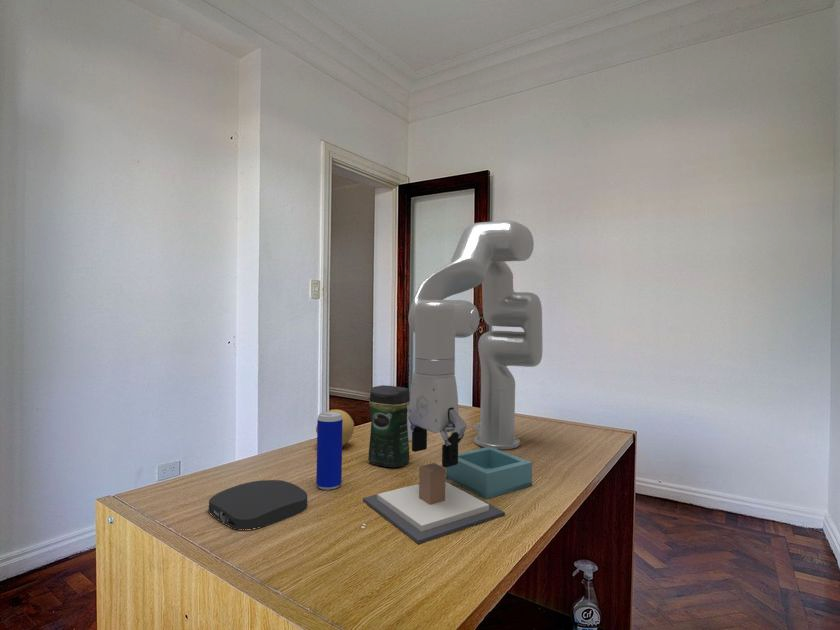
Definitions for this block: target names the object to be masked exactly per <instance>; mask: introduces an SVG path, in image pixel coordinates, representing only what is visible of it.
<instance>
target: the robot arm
mask: <svg viewBox="0 0 840 630" xmlns="http://www.w3.org/2000/svg"><path fill="white" fill-rule="evenodd" d="M534 243H535V242H534V236H533V234H532V232H531V230H530V229H529V227H527V226H525V225H524V224H522V223H520V222H517V221H514V220H498V221H497V220H496V221H483V222H482V221H481V222H474V223H471V224H469V225H468V226H467V227H465V229H464V230H463V232H462V233H461V235H460V238H459V241H458V242H457V245H456V248H455V250H454V252H453V255H452V258H451V259H450V262H449V263H448V264H446V265H444V266H442V267H441V268H440V269H437V270H436V271H435V272H433V273H432V274H431V275H430V276H428V277H427V278H426V279H424V280H423V282H422V283H420V285H419V287H418V288H417V291H416V293H415V295H414V297H413V299H412V302H411V303H410V304H411V305H410V307H409V310H408V316H407V317H408V320H407V321H408V325H409V326H408V327H409V328H410V330H411V331H412V332H413V333H414V372H413V373H412V378H411V383H410V391H409V396H410V404H408V405H407V410H408V414H409V421H410V423H411V426H410V428H411V430H412V441H411V451H412V452H414V453H417V452H420V451H425V450H427V448H428V432H431V433H434V434H439V433H440V435H441V438H442V441H443V443H444V444H442V445H441V447H442V448H441V459H442V460H441V465H442V467H444V468H446V467H450V466H454V465H457V464H458V453H459V444H461V441H462V439H463V438H464V437H465V435H464V434H465V432H466V430H467V422H466V421H465V420H464V419H463V418H462V417H461V415H459V396H458V395H459V394H458V387H457V386H458V385H457V380H456V375H455V374H456V369H455V368H456V367H455V366H456V365H455V364H456V355H455V354H456V345H455V344H456V339H457V338H458V339H459V338H460V339H462V338H469V337H471V336H472V335H474V334H475V333H476V331H477V329H478V328H479V324H480V314H479V311H478V309H477V306H476V305H475V304H474V303H472V302H470V301H468V300H461V299H447V298H449V297H451V296H455V295H458V294H460V293H461V294H462V293H464V292H466V291H469V290H471V289H474V288H476V287H478V286H479V285H481V291H482V292H481V295H482V297H481V298H482V315H483V320H484V322H485V323H486V325H488V326H491V327H502V328H503V327H504V328H505V327H506V328H522V331H513V330H489V331H487V332H484V333H482V334H481V336H479V339H478V343H477V344H478V346H477V347H478V355H479V356H478V357H479V362H480V416H479V417H480V419H479V421H478V422H476V424H473V426H472V429H473V430H474V431H477V434H476V435H475V436H474V443H475V445H478V446H479V447H481V448H485V447H492V448H495V449H498V450H512V449H515V448H518V447H519V446H520V445H521V442H520V439H519V438H518V437H516V436H515V423H516V422H515V419H516V416H515V415H516V414H515V412H516V380H515V377H514V376H513V373H512V372H511V371H510V369H509V368H508V367H509V366H510V367H524V368H525V367H527V368H531V367H532V368H533V367H537V366H539V365H540V364H541V361H542V357H543V308H542V307H543V306H542V301H541V299H540V297H539V295H538V294H537V293H534V292H530V291H529V292H528V291H526V292H525V291H524V292H522V291H519V292H517V291H515V290H514V274H513V271H512V270H511V268H510V266H509V265H508V264H507V263H506V262H523V261H527V260H529V259H530V257H531V256H532V254H533V251H534V245H535V244H534ZM448 433H450V436H449V434H448Z"/></svg>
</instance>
